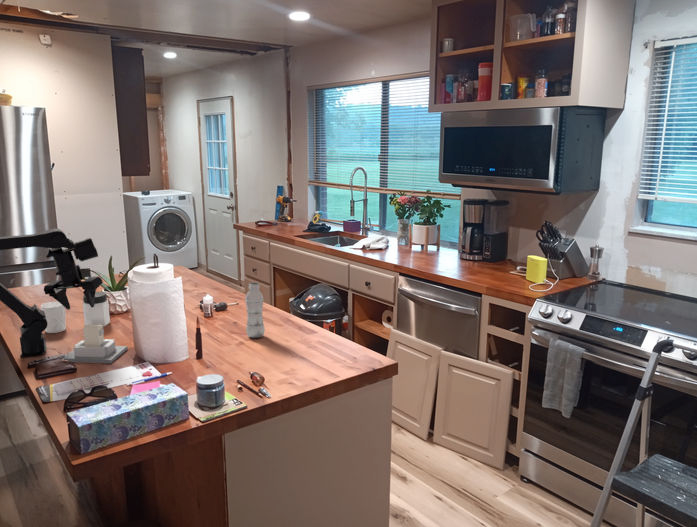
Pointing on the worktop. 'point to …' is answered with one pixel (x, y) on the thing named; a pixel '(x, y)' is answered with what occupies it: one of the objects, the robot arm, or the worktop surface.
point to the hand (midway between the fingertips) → (81, 308)
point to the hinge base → (95, 359)
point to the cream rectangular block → (93, 335)
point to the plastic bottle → (254, 311)
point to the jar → (97, 310)
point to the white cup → (54, 316)
